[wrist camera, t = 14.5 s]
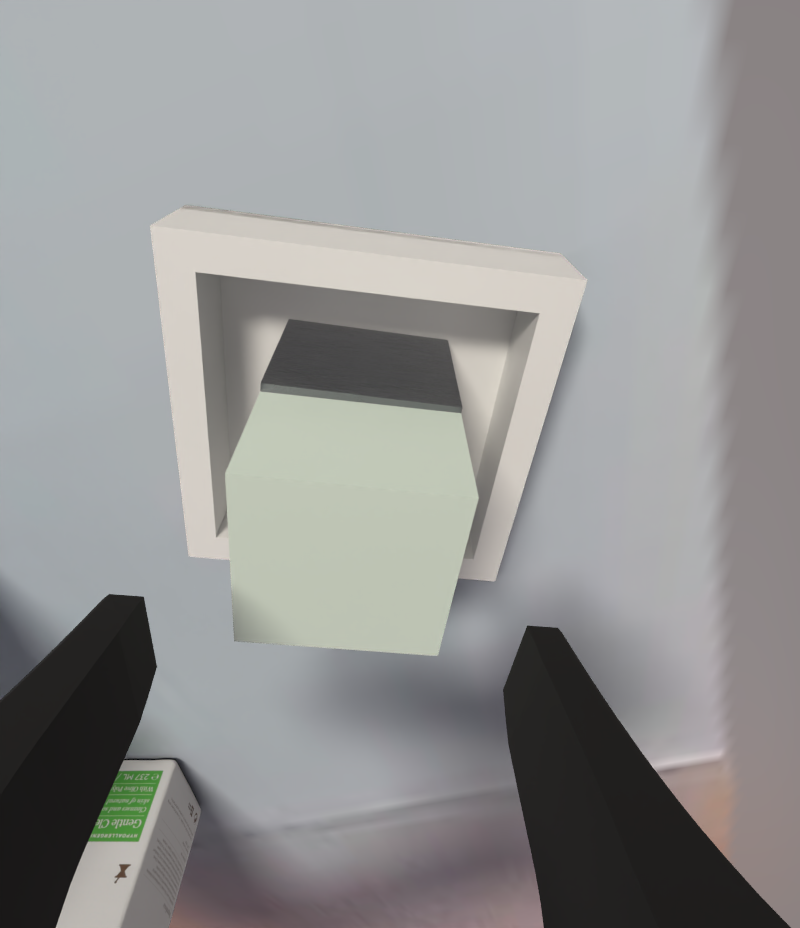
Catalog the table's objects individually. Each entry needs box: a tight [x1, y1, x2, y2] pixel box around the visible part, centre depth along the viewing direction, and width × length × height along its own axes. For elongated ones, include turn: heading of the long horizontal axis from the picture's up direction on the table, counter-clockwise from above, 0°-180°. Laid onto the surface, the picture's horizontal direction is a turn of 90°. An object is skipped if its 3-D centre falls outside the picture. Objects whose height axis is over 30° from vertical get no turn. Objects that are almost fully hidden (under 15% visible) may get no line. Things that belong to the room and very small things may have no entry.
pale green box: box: [225, 391, 479, 656], centre depth 14 cm, size 5×5×4 cm
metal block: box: [260, 319, 462, 413], centre depth 17 cm, size 5×5×4 cm
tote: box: [150, 205, 587, 581], centre depth 18 cm, size 11×11×3 cm
